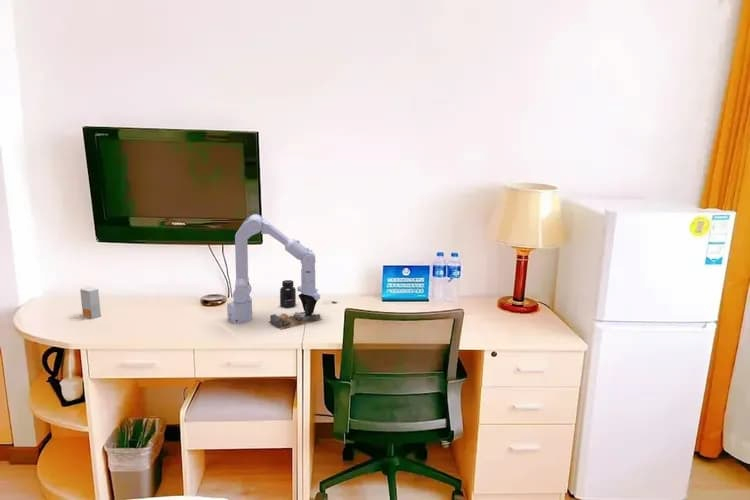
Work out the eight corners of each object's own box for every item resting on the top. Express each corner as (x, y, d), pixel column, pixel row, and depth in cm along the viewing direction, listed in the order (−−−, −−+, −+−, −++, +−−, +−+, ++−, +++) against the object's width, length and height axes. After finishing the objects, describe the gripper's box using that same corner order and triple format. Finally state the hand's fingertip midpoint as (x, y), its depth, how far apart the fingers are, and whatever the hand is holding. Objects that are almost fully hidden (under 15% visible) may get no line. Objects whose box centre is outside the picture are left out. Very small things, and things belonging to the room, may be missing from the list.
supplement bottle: (287, 311, 241) (287, 284, 238) (276, 307, 245) (276, 281, 242) (299, 307, 246) (298, 281, 243) (288, 304, 250) (287, 278, 247)
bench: (280, 332, 218) (280, 321, 217) (267, 323, 226) (267, 313, 225) (323, 321, 229) (323, 311, 228) (309, 314, 238) (308, 304, 237)
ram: (300, 320, 226) (299, 307, 225) (295, 317, 229) (294, 304, 228) (315, 317, 231) (315, 304, 229) (310, 314, 234) (310, 301, 232)
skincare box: (82, 316, 230) (79, 288, 228) (91, 313, 234) (88, 286, 231) (92, 319, 228) (89, 291, 225) (101, 316, 231) (98, 288, 228)
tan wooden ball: (281, 325, 221) (281, 316, 220) (276, 322, 224) (276, 313, 224) (290, 323, 224) (290, 314, 223) (285, 320, 227) (285, 311, 226)
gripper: (326, 282, 224) (326, 314, 227) (307, 274, 235) (307, 305, 239) (311, 285, 220) (311, 318, 223) (292, 277, 231) (293, 308, 234)
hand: (308, 311), depth 231 cm, fingers closed on ram, 3 cm apart
